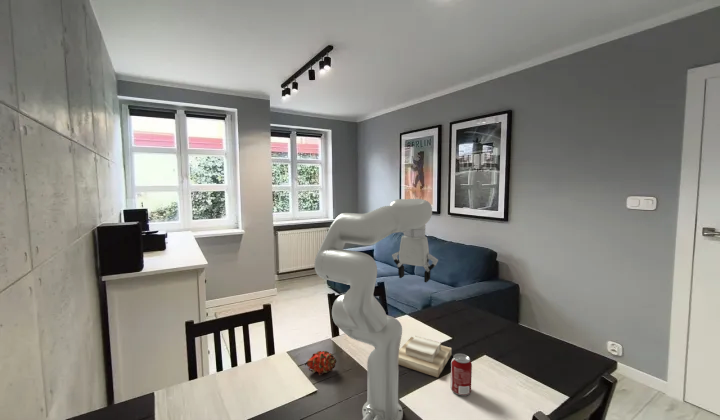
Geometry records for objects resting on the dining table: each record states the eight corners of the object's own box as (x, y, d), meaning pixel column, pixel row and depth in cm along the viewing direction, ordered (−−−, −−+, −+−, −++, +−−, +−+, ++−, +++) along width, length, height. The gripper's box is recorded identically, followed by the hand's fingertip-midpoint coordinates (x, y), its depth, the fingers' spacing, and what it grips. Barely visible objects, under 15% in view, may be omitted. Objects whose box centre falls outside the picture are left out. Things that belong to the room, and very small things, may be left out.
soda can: (472, 398, 105) (473, 364, 104) (451, 395, 106) (452, 362, 105) (469, 385, 111) (470, 353, 110) (449, 383, 113) (450, 351, 112)
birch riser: (437, 377, 116) (438, 362, 115) (393, 362, 125) (393, 348, 125) (451, 354, 131) (451, 341, 131) (411, 343, 141) (411, 330, 140)
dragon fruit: (339, 376, 119) (307, 381, 119) (337, 354, 125) (307, 359, 125) (335, 367, 113) (302, 372, 113) (334, 344, 120) (303, 349, 120)
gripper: (388, 232, 114) (388, 278, 116) (435, 236, 106) (433, 286, 107) (396, 229, 121) (396, 273, 122) (441, 233, 112) (440, 280, 114)
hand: (413, 279), depth 115 cm, fingers open, 9 cm apart
